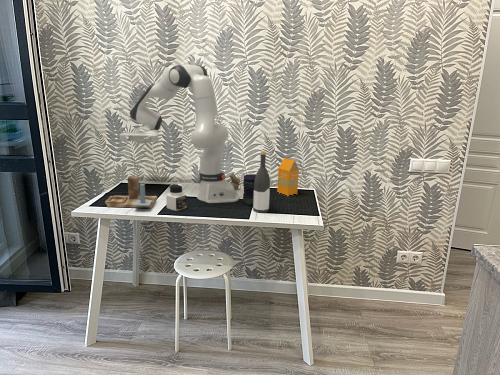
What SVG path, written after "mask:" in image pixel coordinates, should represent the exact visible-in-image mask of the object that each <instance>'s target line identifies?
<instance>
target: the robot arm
mask: <svg viewBox="0 0 500 375" xmlns="http://www.w3.org/2000/svg"><path fill="white" fill-rule="evenodd" d="M180 88H183V89H187V88H188V89H189V88H190V90H191V93H192V96H193V97H192V98H193V103H194V111H195V125H194V129H193V131H192V133H191V138H190V139H191V142H192V144H193V146H194V147H195V148H198V149H203V152H202V154H201V155H200V159H199V173H198V182H199V188H198V194H197V196H196V198H197V199H198V200H199V201H200V202H201V201H202V202H205V203H208V204H222V203H235V202H238V201H239V200H240V196H239V193H237V192H236V190H235V189H234V186H233V185H232V184H231V183H230V182H229V181H228V180H226V175H225V172H222V157H223V151H224V149H225V144H226V142H227V140H228V137H229V130H228V129H227V127H226V126H225V125H223V124H218V123H215V121H216V116H217V114H218V106H217V105H218V104H217V101H216V94H215V90H214V86H213V82H212V79H211V78H210V77H209V76H208V71H207V70H206V67H204V66H202V65H199V64H189V63H187V64H185V63H184V64H170V65H169V66H168V67H167V68H166V69H165V70H164V72H163V73H162V75H161V76H160V79H159V80H158V81H157V82H156V83H155V82H154V83H151V84H150V85H149V86H148V87H147V89H146V90H145V91H144V92H143V93H142V95H140V98H139V99H138V100H137V101H136V102H135V103H134V105H132V107H131V108H130V110H129V115H130V118H131V119H132V120H133V121H135V122H138V123H140V124H142V125H141V126H139V127H137V128H136V129H135V130H134V132H121V133H120V134H119V141H120V142H136V143H138V144H142V145H143V144H146V143H155V142H157V143H158V142H159V130H160V128H161V127H162V124H163V117H162V115H161V114H160V113H158V112H156V111H154V110H152V109H151V108H149V107H147V106H146V105H145V104H146V103H147V102H148V101H149V99H150V98H157V99H161V100H170V99H173V98H175V96H176V95H177V94H178V92H179V90H180Z"/></svg>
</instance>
